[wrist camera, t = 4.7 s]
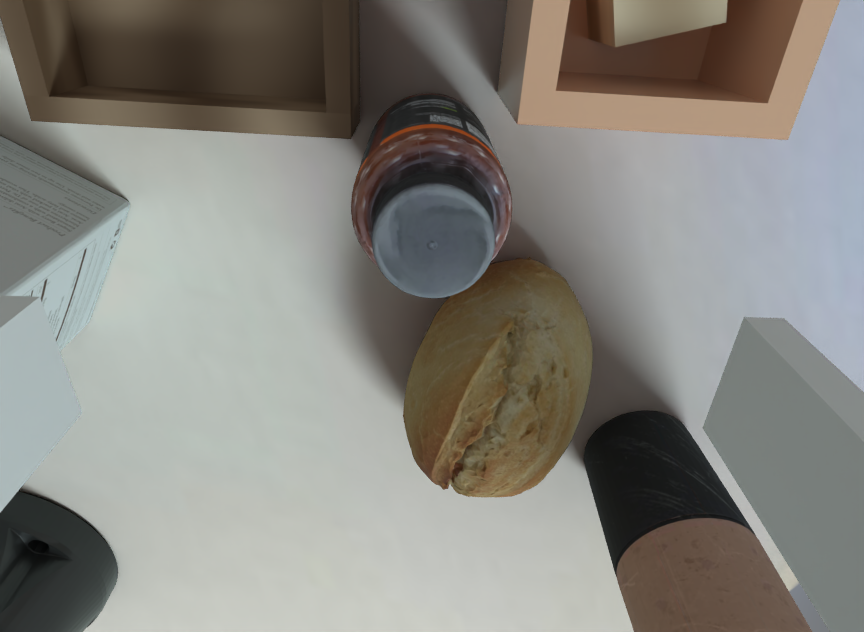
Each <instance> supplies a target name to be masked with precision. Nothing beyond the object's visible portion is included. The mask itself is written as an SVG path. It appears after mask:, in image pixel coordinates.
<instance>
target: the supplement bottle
mask: <svg viewBox="0 0 864 632" xmlns="http://www.w3.org/2000/svg"><path fill="white" fill-rule="evenodd" d="M351 214H352V221H353V227H354V230H355V234H356V236H357V238H358V241H359V243H360V244H361V246H362V248H363V250H364V251H365V253H366V254H367V255H368V257H369V258H370V259H371V260H372V262H373V263H375V264H376V265H377V266H378V267H379V269H380V270H381V271H382V273H383V275H384V276H385V277H386V278H387V279H388V280H389V281H390V282H391V283H392V284H393V285H395V286H396V287H397V288H399V289H400V290H402V291H404V292H406V293H409V294H412V295H415V296H418V297H426V298H443V297H447V296H452V295H454V294H457V293H459V292H462V291H464V290H466V289H467V288H469V287H470V286H472V285H473V284H474V283H475V282H476V281H477V280H478V279H479V278H480V277H481V276H482V275H483V273H484V272H485V271H486V269H487V268H488V266H489V264H490V262H491V261H492V260H493V259H494V257H495V256H496V255H497V253H498V251H499V250H500V249H501V247H502V245H503V243H504V241H505V240H506V237H507V233H508V231H509V228H510V223H511V217H512V215H511V214H512V197H511V191H510V187H509V184H508V181H507V178H506V176H505V174H504V171H503V169H502V166H501V164H500V162H499V160H498V158H497V156H496V153H495V151H494V149H493V147H492V144H491V142H490V140H489V138H488V135H487V133H486V131H485V129H484V127H483V125H482V124H481V122H480V121H479V119H478V118H477V117H476V115H475V114H474V113H473V112H472V111H471V110H470V109H469V108H468V107H466V106H465V105H464V104H463V103H461V102H459V101H457V100H455V99H453V98H451V97H448V96H445V95H440V94H434V93H429V94H418V95H413V96H409V97H407V98H405V99H403V100H401V101H399V102H398V103H396V104H395V105H393V106H392V107H391V108H389V109H388V110H387V111H386V112H385V113H384V114H383V116H382V117H381V118H380V120H379V121H378V122H377V124H376V126H375V127H374V129H373V131H372V133H371V136H370V139H369V142H368V145H367V148H366V151H365V153H364V157H363V159H362V163H361V165H360V168H359V171H358V174H357V177H356V180H355V184H354V188H353V192H352V202H351Z"/></svg>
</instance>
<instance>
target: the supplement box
mask: <svg viewBox="0 0 864 632" xmlns="http://www.w3.org/2000/svg"><path fill="white" fill-rule="evenodd" d="M129 207H130V203H129V202H128V201H127V200H125V199H124V198H122V197H120V196H118V195H116V194H114V193H112V192H110V191H108V190H106V189H104V188H102V187H100V186H98V185H96V184H94V183H92V182H90V181H88V180H86V179H84V178H82V177H80V176H78V175H76V174H74V173H72V172H70V171H69V170H67V169H65V168H63V167H61V166H59V165H57V164H55V163H53V162H51V161H49V160H47V159H45V158H43V157H41V156H39V155H37V154H35V153H33V152H31V151H29V150H27V149H25V148H23V147H21V146H19V145H17V144H16V143H14V142H12V141H10V140H8V139H6V138H4V137H2V136H0V296H30V297H40V299H41V301H42V304H43V307H44V310H45V312H46V315H47V318H48V321H49V323H50V326H51V329H52V331H53V334H54V337H55V340H56V342H57V345H58V348H59V351H60V350H61V349H62V348H63V347H64V346H65V345H66V344H67V343H68V342H69V341H71V340H72V339H73V338H74V337H75V336H76V335H77V334H78V333H79V332H80V331H81V330H82V329H83V328H84V327H85V326H86V325H87V324H88V323H89V321H90V318H91V315H92V313H93V310H94V307H95V304H96V301H97V298H98V296H99V293H100V290H101V287H102V284H103V282H104V279H105V276H106V273H107V270H108V267H109V264H110V262H111V259H112V256H113V253H114V250H115V247H116V245H117V242H118V239H119V236H120V233H121V231H122V228H123V225H124V222H125V219H126V217H127V214H128V210H129Z"/></svg>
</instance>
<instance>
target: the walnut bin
mask: <svg viewBox="0 0 864 632" xmlns="http://www.w3.org/2000/svg"><path fill="white" fill-rule="evenodd" d="M0 17H1V21H2V24H3V27H4V31H5V34H6V37H7V41H8V44H9V48H10V51H11V54H12V58H13V61H14V64H15V68H16V71H17V74H18V78H19V81H20V84H21V88H22V91H23V95H24V98H25V101H26V105H27V108H28V111H29V115H30V118H31V121H42V122H60V123H78V124H96V125H113V126H131V127H149V128H167V129H184V130H202V131H220V132H238V133H255V134H273V135H291V136H309V137H326V138H344V139H351V138H352V136H353V134H354V132H355V131H356V129H357V127H358V125H359V123H360V38H359V0H0Z"/></svg>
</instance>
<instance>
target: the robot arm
mask: <svg viewBox="0 0 864 632" xmlns="http://www.w3.org/2000/svg"><path fill="white" fill-rule="evenodd" d="M81 414H82V411H81V408H80V405H79V402H78V400H77V397H76V394H75V391H74V389H73V386H72V383H71V381H70V378H69V375H68V372H67V370H66V367H65V364H64V361H63V359H62V356H61V353H60V351H59V348H58V345H57V342H56V340H55V337H54V334H53V331H52V329H51V326H50V323H49V321H48V318H47V315H46V312H45V310H44V307H43V304H42V301H41V299H40V297H30V296H0V632H83V631H84V630H85V629H86V628H87V627H88V626H89V625H90V624H91V623H92V622H93V621H94V620H95V619H96V618H97V617H98V615H99V614H100V612H101V611H102V609H103V608H104V606H105V604H106V602H107V600H108V598H109V596H110V594H111V592H112V591H113V589H114V587H115V585H116V582H117V578H118V567H117V562H116V559H115V557H114V554H113V552H112V551H111V549H110V547H109V546H108V544H107V543H106V542H105V540H104V539H103V538H102V537H101V536H100V535H99V534H98V533H97V532H96V531H95V530H94V529H93V528H92V527H90V526H89V525H88V524H87V523H85V522H84V521H83V520H81V519H80V518H78V517H77V516H75V515H74V514H72V513H70V512H69V511H67V510H65V509H63V508H61V507H59V506H57V505H55V504H53V503H51V502H48V501H46V500H43V499H41V498H38V497H35V496H32V495H29V494H25V493H22V492H18V490H19V489H20V488H21V487H22V486H23V484H24V483H25V482H26V481H27V480H28V478H29V477H30V476H31V475H32V473H33V472H34V471H35V470H36V469H37V467H38V466H39V465H40V464H41V462H42V461H43V460H44V459H45V458H46V456H47V455H48V454H49V453H50V451H51V450H52V449H53V448H54V447H55V445H56V444H57V443H58V442H59V440H60V439H61V438H62V437H63V436H64V434H65V433H66V432H67V431H68V429H69V428H70V427H71V426H72V425H73V423H74V422H75V421H76V420H77V418H78V417H79V416H80V415H81ZM703 429H704V431H705V432H706V434H707V436H708V437H709V439H710V440H711V442H712V444H713V445H714V447H715V448H716V450H717V452H718V453H719V455H720V456H721V458H722V460H723V461H724V463H725V464H726V466H727V468H728V469H729V471H730V472H731V474H732V476H733V477H734V479H735V480H736V482H737V484H738V485H739V487H740V488H741V490H742V492H743V493H744V495H745V496H746V498H747V500H748V501H749V503H750V504H751V506H752V508H753V509H754V511H755V512H756V514H757V516H758V517H759V519H760V520H761V522H762V524H763V525H764V527H765V528H766V530H767V532H768V533H769V535H770V536H771V538H772V540H773V541H774V543H775V544H776V546H777V548H778V549H779V551H780V552H781V554H782V556H783V557H784V559H785V561H786V562H787V564H788V565H789V567H790V569H791V570H792V572H793V573H794V575H795V577H796V578H797V580H798V581H799V583H800V585H801V586H802V588H803V589H804V591H805V593H806V594H807V596H808V597H809V599H810V601H811V602H812V603H813V605H814V607H815V608H816V610H817V612H818V613H819V615H820V616H821V618H822V620H823V621H824V623H825V625H826V626H827V628H828V629H829V631H830V632H864V392H863V391H862V390H861V389H859V388H858V387H857V386H856V385H855V384H854V383H853V382H852V381H851V380H850V379H849V378H848V377H847V376H845V375H844V374H843V373H842V372H841V371H840V370H839V369H838V368H837V367H836V366H835V365H834V364H833V363H831V362H830V361H829V360H828V359H827V358H826V357H825V356H824V355H823V354H822V353H821V352H820V351H818V350H817V349H816V348H815V347H814V346H813V345H812V344H811V343H810V342H809V341H808V340H807V339H806V338H804V337H803V336H802V335H801V334H800V333H799V332H798V331H797V330H796V329H795V328H794V327H793V326H792V325H790V324H789V323H788V322H787V321H786V320H785V319H784V318H752V317H744V319H743V321H742V324H741V327H740V329H739V332H738V335H737V337H736V340H735V343H734V345H733V348H732V351H731V354H730V356H729V359H728V362H727V364H726V367H725V370H724V372H723V375H722V378H721V380H720V383H719V386H718V388H717V391H716V394H715V396H714V399H713V402H712V404H711V407H710V410H709V412H708V415H707V418H706V420H705V423H704V426H703Z"/></svg>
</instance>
